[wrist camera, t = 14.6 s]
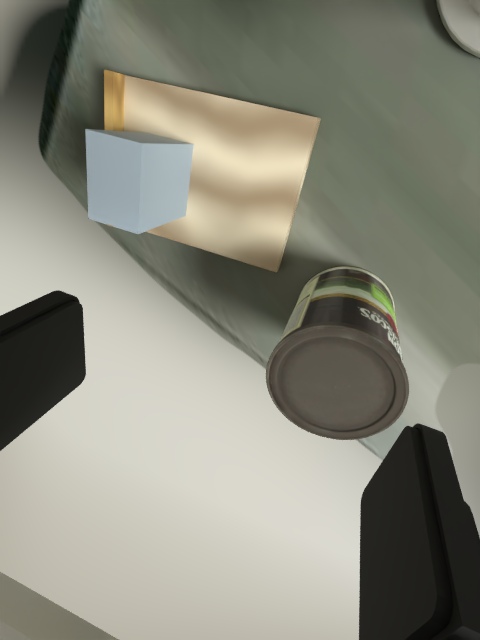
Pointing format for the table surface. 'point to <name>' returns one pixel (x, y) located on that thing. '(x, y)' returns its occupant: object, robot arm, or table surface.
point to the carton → (136, 179)
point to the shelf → (223, 164)
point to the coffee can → (340, 358)
